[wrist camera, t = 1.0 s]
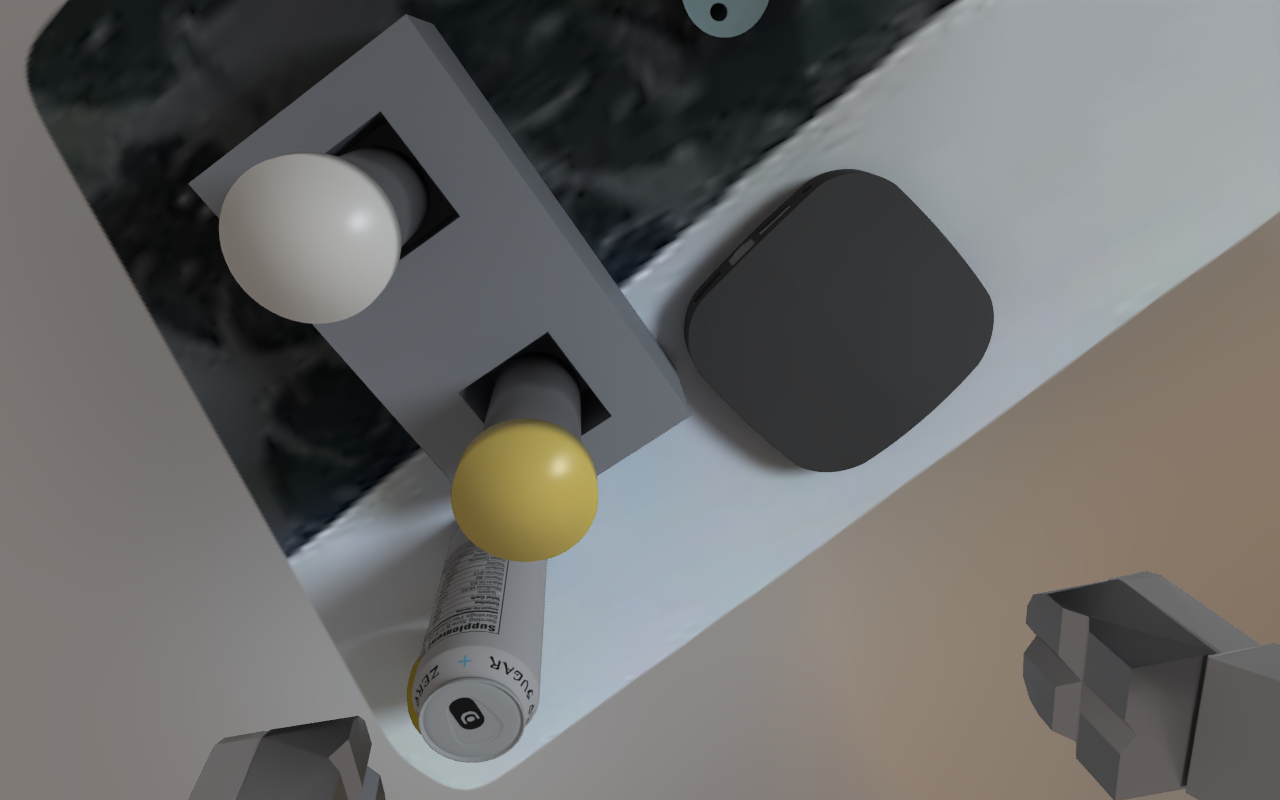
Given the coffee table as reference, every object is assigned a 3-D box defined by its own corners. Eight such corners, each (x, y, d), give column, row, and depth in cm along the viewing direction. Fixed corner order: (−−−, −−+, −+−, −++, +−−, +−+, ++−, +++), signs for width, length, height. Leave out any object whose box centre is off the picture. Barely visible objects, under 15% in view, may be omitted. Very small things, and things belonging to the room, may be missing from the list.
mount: (433, 24, 40) (405, 14, 34) (675, 368, 48) (691, 415, 41) (248, 166, 42) (188, 183, 35) (510, 476, 49) (500, 537, 43)
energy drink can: (479, 600, 53) (445, 789, 39) (433, 527, 50) (379, 700, 36) (563, 564, 52) (560, 743, 38) (521, 489, 50) (500, 650, 36)
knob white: (389, 106, 36) (313, 119, 26) (468, 211, 38) (427, 263, 28) (293, 179, 37) (181, 221, 27) (375, 278, 39) (301, 354, 29)
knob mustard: (549, 318, 40) (540, 405, 30) (613, 403, 42) (626, 513, 32) (459, 380, 41) (420, 485, 31) (526, 460, 43) (510, 585, 33)
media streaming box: (816, 479, 52) (830, 502, 49) (654, 325, 47) (660, 341, 44) (1001, 317, 48) (1027, 332, 46) (847, 136, 44) (865, 140, 41)
